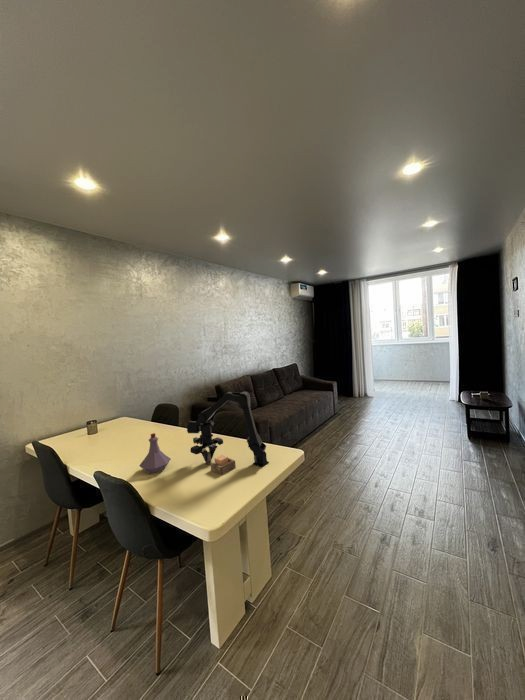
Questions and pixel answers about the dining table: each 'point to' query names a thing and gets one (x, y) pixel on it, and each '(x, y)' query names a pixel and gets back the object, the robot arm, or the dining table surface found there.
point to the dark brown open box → (223, 467)
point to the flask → (154, 458)
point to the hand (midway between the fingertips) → (208, 460)
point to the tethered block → (217, 459)
